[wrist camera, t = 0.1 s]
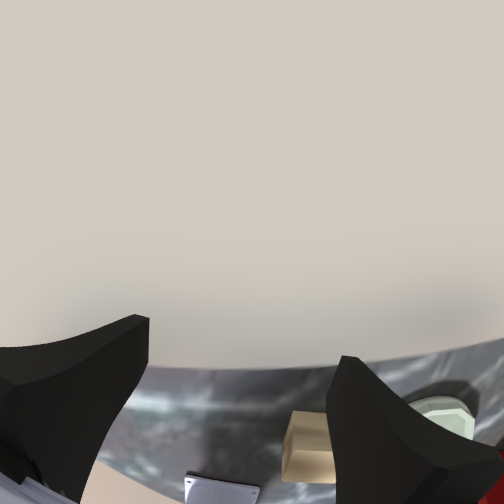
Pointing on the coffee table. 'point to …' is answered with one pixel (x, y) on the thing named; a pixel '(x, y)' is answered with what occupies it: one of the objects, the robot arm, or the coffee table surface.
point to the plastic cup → (495, 491)
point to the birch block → (308, 449)
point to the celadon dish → (447, 414)
